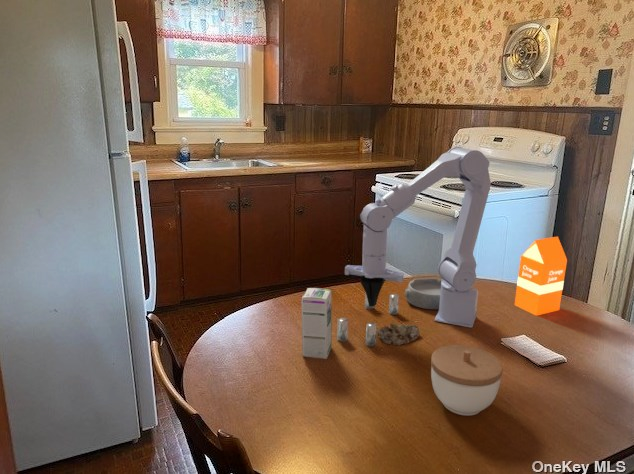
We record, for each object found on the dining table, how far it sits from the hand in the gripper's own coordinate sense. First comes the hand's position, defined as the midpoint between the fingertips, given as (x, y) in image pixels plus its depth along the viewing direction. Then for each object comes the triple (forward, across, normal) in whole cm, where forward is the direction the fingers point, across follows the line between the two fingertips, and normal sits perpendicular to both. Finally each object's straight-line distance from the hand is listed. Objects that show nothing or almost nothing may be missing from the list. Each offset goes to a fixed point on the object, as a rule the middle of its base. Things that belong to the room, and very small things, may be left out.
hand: (372, 304), depth 122 cm
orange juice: (+6, +38, +30) cm, 49 cm away
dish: (+6, +10, +22) cm, 25 cm away
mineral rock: (+6, +8, -3) cm, 11 cm away
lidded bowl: (+6, +26, -24) cm, 36 cm away
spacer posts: (+6, -1, 0) cm, 6 cm away
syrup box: (+6, -7, -18) cm, 20 cm away
